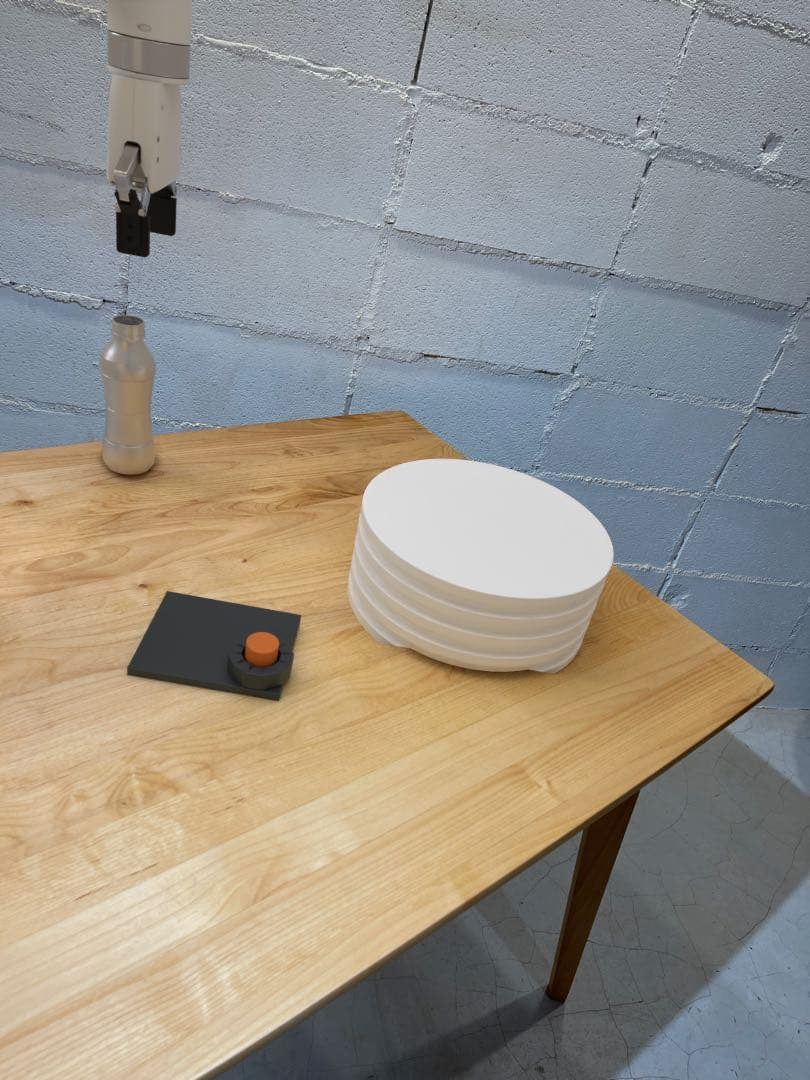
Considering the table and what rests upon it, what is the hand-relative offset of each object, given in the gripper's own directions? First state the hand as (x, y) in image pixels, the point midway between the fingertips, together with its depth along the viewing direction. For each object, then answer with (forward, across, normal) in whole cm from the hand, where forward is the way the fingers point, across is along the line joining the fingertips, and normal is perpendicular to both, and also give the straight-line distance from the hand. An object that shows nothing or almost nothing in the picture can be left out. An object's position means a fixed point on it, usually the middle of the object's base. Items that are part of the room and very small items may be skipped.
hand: (147, 243), depth 87 cm
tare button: (+27, +31, +20) cm, 46 cm away
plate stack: (+31, +12, +41) cm, 53 cm away
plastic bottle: (+31, -5, -4) cm, 31 cm away
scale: (+31, +28, +16) cm, 45 cm away
